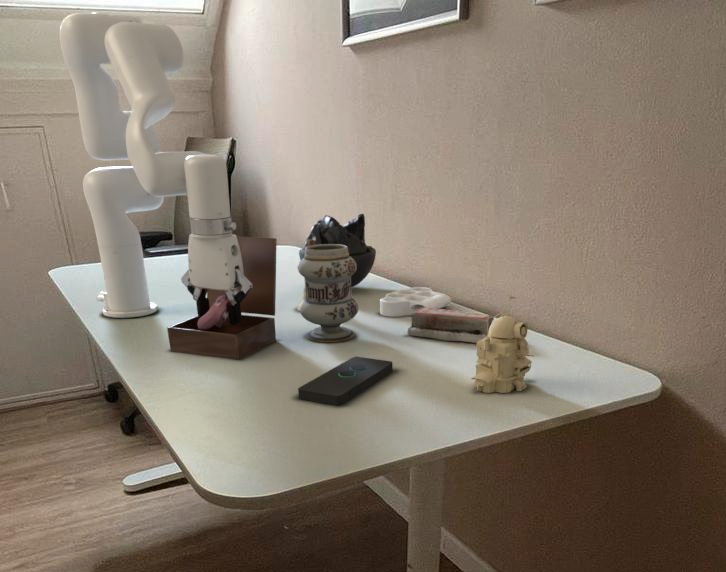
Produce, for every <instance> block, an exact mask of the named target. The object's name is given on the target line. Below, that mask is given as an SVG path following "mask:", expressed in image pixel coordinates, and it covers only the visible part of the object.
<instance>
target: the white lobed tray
mask: <svg viewBox="0 0 726 572" xmlns="http://www.w3.org/2000/svg"><path fill="white" fill-rule="evenodd" d="M451 304H452V298H451V297H450V296H449V295H448V294H445V293H442V292H441V291H440V292H438V291H433V288H430V287H427V286H413V287H409V288H404V289H397V290H394V291H393V292H389V293H386V294H385V295H384V297H382V298H379V313H380V315H381V316H383V317H389V318H398V317H405V316H406V317H408V316H409V317H412V314H413V313H414V312H415V311H417V310H419V309H420V308H422V307H424V308H436V309H443V308H445V307H447V306H449V305H451Z"/></svg>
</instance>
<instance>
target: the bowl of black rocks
mask: <svg viewBox="0 0 726 572" xmlns="http://www.w3.org/2000/svg"><path fill="white" fill-rule="evenodd" d="M365 217H366V216H365V214H364V213H360V214H358V215H357V217H356V218H352V219H351V221H347V222H346V223H345V224H344V225H342V224H340V222H339V221H338V220H337V219H335V217H333V216H330V215H327V214H326V215H324V216H323V217H322V218H320V219H319V220H317V222H316V223H315V224H314V225H312V226H311V229H310V234H308V235H307V237H306V239H305V243H304V246H303V247H302V248H301V249H299V250H298V255H299V262H300V261H301V260H302V259H303V258H304V255H305V248H306V247H307V246H308V241H309V239H314V242H315V245H322V244H340V245H345V246H347V247H348V253H349V256H350V257H352V258H353V259H354V260H355V262H356V264H357V269H356V271H355V273H354V274H353V275H352V276H351V288H353V287H355V286H357V285H359V284H360V283H362V281H364V280H365V279H366V278H367V277H368V275H369V274H370V272H371V270H372V269H373V266H374V263H375V261H376V255H377V250H376V248H374V247H373V246H371V245H367V244H366V239H365V237H366V236H365V235H366V234H365V233H366V229H365V226H366V219H365Z"/></svg>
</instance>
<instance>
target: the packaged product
mask: <svg viewBox="0 0 726 572" xmlns="http://www.w3.org/2000/svg"><path fill="white" fill-rule="evenodd" d="M488 315H489V318H488ZM410 317H411V318H410V319H411V322H410V323H411V324H410V325H411V326H410V327H407V331H406V335H407V336H411V337H412V336H413V337H421V338H428V339H429V338H430V339H435V340H440V341H448V342H449V341H451V342H454V341H455V342H456V341H457V342H458V341H459V342H464V343H465V342H466V343H473V344H477V342H478V341H479V340H482V339H484V338H485V337H487V324H488V332H489V328H490V326H491V324H492V323H493V322H494V320H495V317H494V315H492V314H485V313H479V312H478V313H477V312H469V311H462V310H461V311H460V310H451V309H445V308H444V309H443V308H440V309H436V308H424V307H422V308H420V309H419V310H417V311H415V312H414V313H413V314H412V316H410ZM491 317H493V318H491Z"/></svg>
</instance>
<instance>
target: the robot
mask: <svg viewBox="0 0 726 572" xmlns="http://www.w3.org/2000/svg"><path fill="white" fill-rule="evenodd" d="M513 299H517V297H515V296H512V295H510V294H509V298H508V301H511V300H513ZM509 306H510V303H507V306H506V307H505V306H504V305H501V312H500V313H498V314H497V315H496V314H495V316H494V315H493V317H494V318H495V317H497V316H499V315H500V314H501V316H499V317H497V318H495V319H493V321H492V323H491V326H490V328H489V332H488V324H487V337H485V338H484V339H482V340H479V341H478V342H477V343H475V347H476V357H477V360H476V364H475V375H474V376H473V377H471V378H470V379H471V380H474V387H476V392H483V393H485V394H490V393H495V392H496V393H500V394H507V393H510V392H512V391H513V390H515V391H516V392H522V391H523V390H525V389H526V388H528V385H527V384H526V382H525V380H526V381H528V382H530V381H531V379H530V378H529V379H528V378H527V377H526V378H525V376H526V374H527V373H529V372H530V370H531V368H532V360H531V359H530V358H528V357H535V355H534V354H529V353H530V348H529V342H528V341H527V339H526V338H527V335H528V330H529V325H528V323H527V322H520V321H518V320H517V319H516V318H515V317H513V316H510V315H508V313H509V310H507V311H506V315H504V311H505V310H506V309H508V308H509ZM504 307H505V308H504ZM487 315H488V318H489V315H490V314H487ZM493 317H491V318H493Z"/></svg>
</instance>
